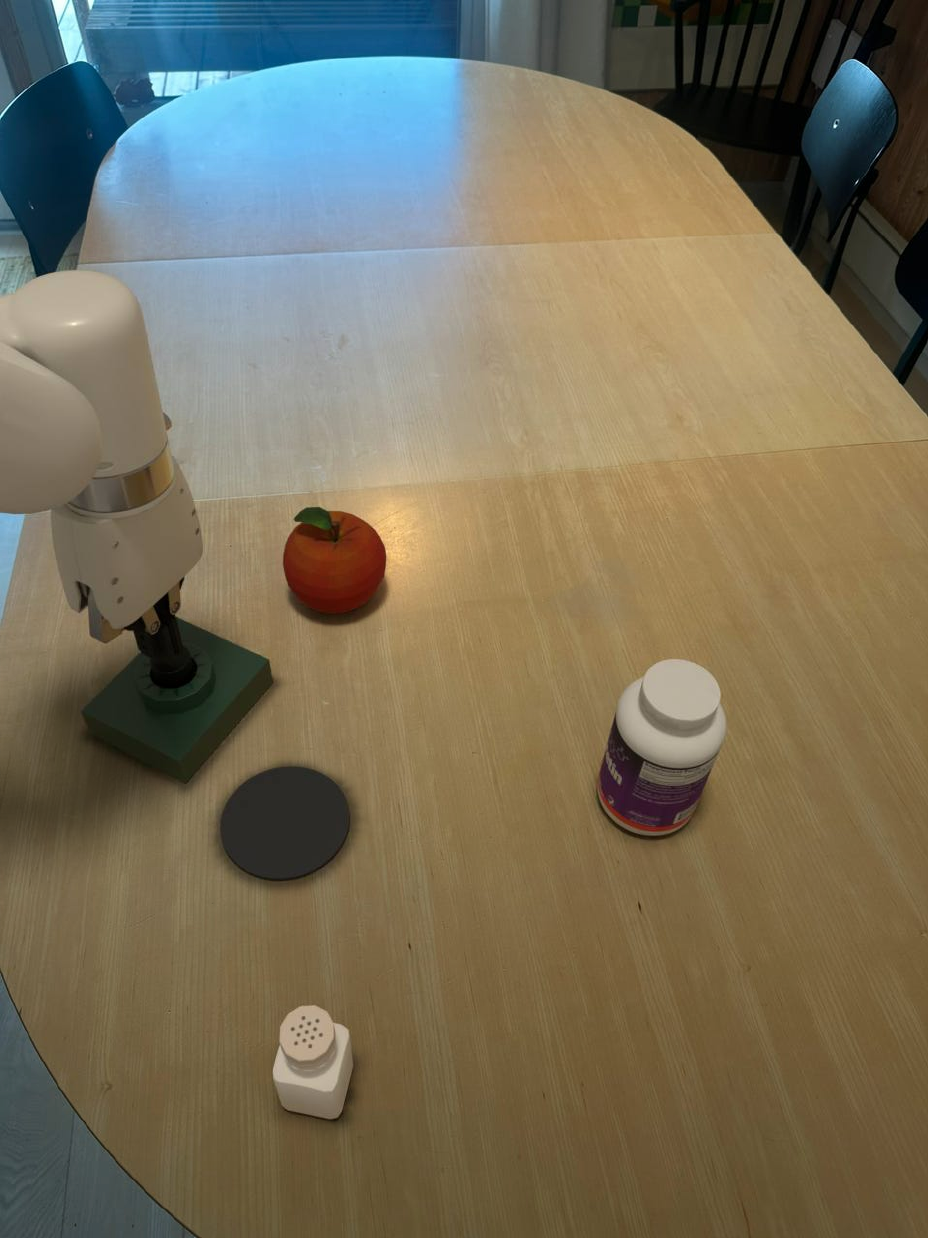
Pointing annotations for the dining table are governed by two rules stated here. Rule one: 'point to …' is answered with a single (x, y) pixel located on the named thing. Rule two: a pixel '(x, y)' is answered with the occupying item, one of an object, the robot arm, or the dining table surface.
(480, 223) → the dining table surface
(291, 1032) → the salt shaker
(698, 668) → the pill bottle
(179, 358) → the dining table surface
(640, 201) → the dining table surface
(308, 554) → the fruit
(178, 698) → the green square nut
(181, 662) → the black push button
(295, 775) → the coaster
